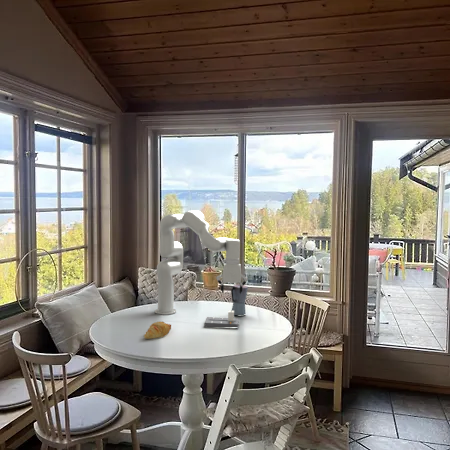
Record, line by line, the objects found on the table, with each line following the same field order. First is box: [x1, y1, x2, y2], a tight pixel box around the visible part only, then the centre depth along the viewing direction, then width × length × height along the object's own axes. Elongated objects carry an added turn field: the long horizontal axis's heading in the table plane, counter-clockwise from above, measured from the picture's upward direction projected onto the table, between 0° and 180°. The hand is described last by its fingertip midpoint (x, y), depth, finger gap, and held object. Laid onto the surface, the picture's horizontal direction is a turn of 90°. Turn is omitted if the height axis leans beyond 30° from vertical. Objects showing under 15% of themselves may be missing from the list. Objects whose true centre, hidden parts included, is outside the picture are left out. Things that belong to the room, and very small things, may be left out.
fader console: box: [203, 316, 240, 328], centre depth 253 cm, size 12×18×3 cm, turn 86°
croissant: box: [143, 321, 172, 340], centre depth 232 cm, size 21×10×8 cm, turn 152°
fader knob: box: [227, 309, 235, 322], centre depth 253 cm, size 4×3×7 cm
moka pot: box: [230, 283, 249, 315], centre depth 275 cm, size 10×15×20 cm, turn 148°
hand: (231, 292), depth 252 cm, fingers open, 9 cm apart
